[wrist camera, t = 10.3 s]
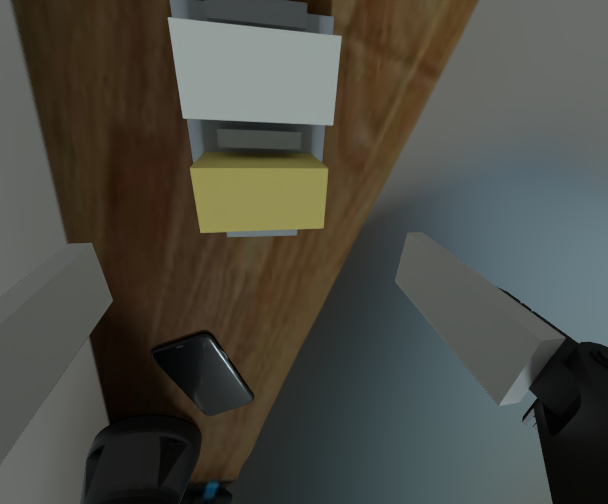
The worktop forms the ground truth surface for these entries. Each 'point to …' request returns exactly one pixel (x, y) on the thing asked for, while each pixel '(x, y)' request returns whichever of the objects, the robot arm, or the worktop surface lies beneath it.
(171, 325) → the worktop surface
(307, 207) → the butter stick brick
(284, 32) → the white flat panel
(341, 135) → the worktop surface
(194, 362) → the smartphone
